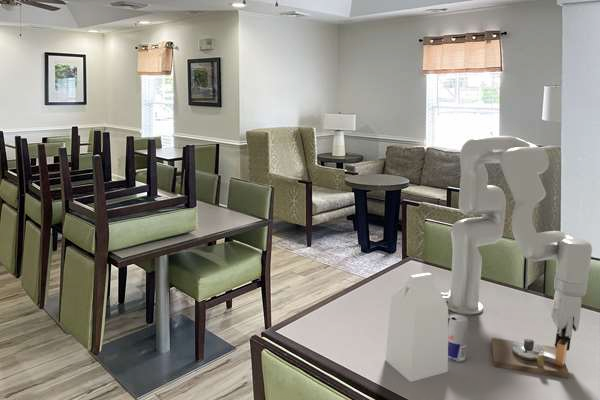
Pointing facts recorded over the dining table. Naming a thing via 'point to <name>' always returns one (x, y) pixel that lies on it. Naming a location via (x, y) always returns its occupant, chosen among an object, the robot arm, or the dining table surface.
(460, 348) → the energy drink
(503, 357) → the walnut board
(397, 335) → the milk
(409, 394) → the dining table surface
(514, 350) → the crank handle
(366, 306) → the dining table surface
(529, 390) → the dining table surface
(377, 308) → the dining table surface
